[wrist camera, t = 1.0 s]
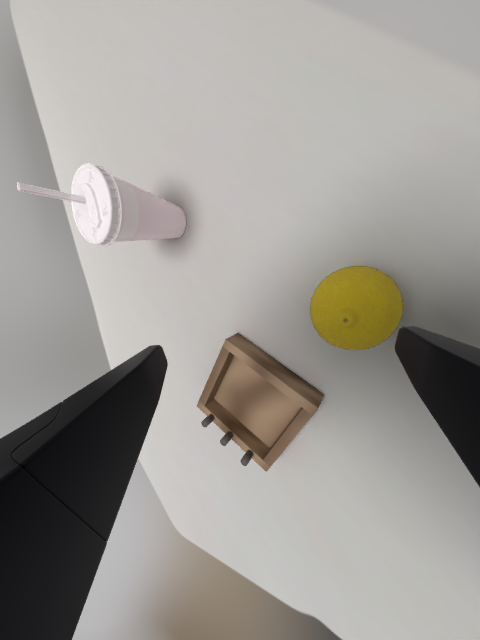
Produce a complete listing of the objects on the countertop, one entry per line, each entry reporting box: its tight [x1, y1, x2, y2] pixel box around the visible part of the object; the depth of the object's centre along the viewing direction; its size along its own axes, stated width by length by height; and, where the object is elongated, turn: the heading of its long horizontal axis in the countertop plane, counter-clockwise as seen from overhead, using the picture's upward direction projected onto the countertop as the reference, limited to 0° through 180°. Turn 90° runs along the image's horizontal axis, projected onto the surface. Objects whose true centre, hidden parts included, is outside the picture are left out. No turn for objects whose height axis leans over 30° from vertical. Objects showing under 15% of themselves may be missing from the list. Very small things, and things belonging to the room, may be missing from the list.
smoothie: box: [17, 163, 186, 246], centre depth 21 cm, size 6×6×14 cm
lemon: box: [310, 266, 403, 350], centre depth 15 cm, size 6×6×8 cm
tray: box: [197, 333, 324, 472], centre depth 25 cm, size 11×11×4 cm
